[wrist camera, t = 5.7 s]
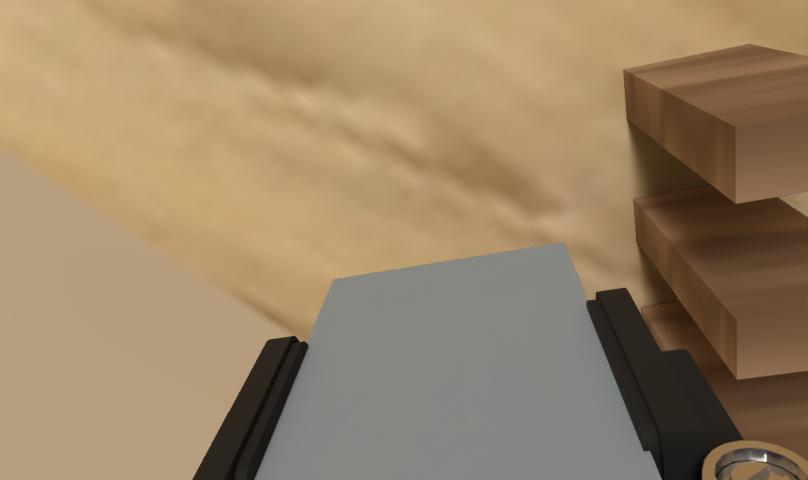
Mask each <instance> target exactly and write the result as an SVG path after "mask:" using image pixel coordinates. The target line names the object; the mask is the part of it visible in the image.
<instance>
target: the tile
mask: <svg viewBox="0 0 808 480" xmlns="http://www.w3.org/2000/svg"><path fill="white" fill-rule="evenodd" d="M586 301H588V299H587V297H586V294H585V292H584V289H583V287H582V285H581V282H580V280H579V277H578V275H577V272H576V270H575V268H574V265H573V263H572V260H571V258H570V255H569V253H568V251H567V248H566V246H565V243H564V242H563V243H557V244H551V245H545V246H538V247H532V248H526V249H520V250H513V251H507V252H501V253H495V254H488V255H482V256H476V257H470V258H463V259H457V260H451V261H445V262H438V263H432V264H426V265H420V266H413V267H407V268H401V269H395V270H388V271H382V272H376V273H370V274H363V275H357V276H351V277H345V278H338V279H334V280H333V282H332V284H331V287H330V289H329V291H328V294H327V296H326V299H325V301H324V303H323V306H322V308H321V311H320V313H319V315H318V318H317V320H316V323H315V325H314V327H313V330H312V332H311V334H310V337H309V339H308V342H307V344H308V350H307V352H306V354H305V357H304V359H303V362H302V364H301V367H300V369H299V372H298V374H297V376H296V379H295V381H294V384H293V386H292V389H291V391H290V394H289V396H288V398H287V401H286V403H285V406H284V408H283V411H282V413H281V416H280V418H279V420H278V423H277V425H276V428H275V430H274V433H273V435H272V438H271V440H270V442H269V445H268V447H267V450H266V452H265V455H264V457H263V460H262V462H261V465H260V467H259V469H258V472H257V474H256V477H255V479H254V480H662V479H661V477H660V474H659V472H658V469H657V467H656V464H655V462H654V459H653V457H652V455H651V452H650V451H645V452H644V451H643V448H642V446H641V443H640V441H639V438H638V436H637V433H636V431H635V428H634V426H633V423H632V421H631V418H630V416H629V413H628V411H627V408H626V406H625V403H624V401H623V398H622V396H621V393H620V390H619V388H618V385H617V383H616V380H615V378H614V375H613V373H612V370H611V368H610V365H609V363H608V360H607V358H606V355H605V353H604V350H603V348H602V345H601V343H600V340H599V338H598V335H597V333H596V330H595V327H594V325H593V322H592V320H591V317H590V315H589V312H588V310H587V307H586Z"/></svg>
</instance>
